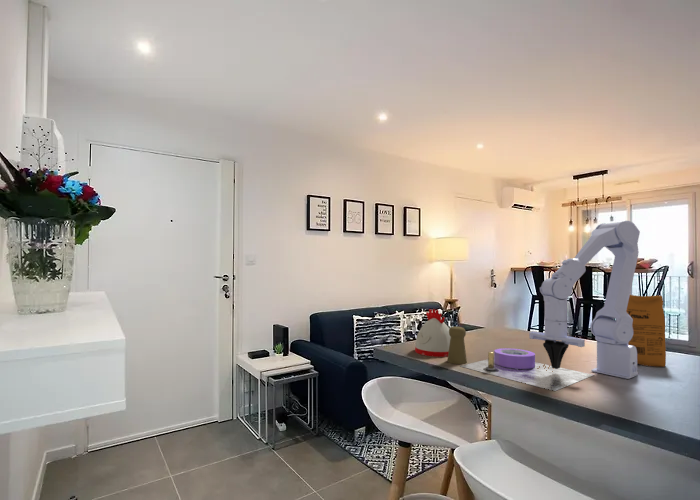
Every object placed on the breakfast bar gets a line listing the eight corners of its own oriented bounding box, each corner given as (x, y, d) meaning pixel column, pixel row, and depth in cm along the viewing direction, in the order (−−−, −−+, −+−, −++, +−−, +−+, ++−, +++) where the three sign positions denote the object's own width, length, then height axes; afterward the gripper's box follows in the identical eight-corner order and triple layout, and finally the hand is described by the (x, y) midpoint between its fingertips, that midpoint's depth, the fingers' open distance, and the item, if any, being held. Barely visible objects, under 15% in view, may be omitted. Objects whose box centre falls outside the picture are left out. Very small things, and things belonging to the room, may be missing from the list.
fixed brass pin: (498, 370, 115) (498, 352, 115) (492, 371, 113) (492, 354, 113) (489, 367, 117) (489, 351, 117) (484, 369, 115) (484, 352, 115)
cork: (451, 358, 129) (451, 324, 129) (469, 361, 125) (469, 326, 125) (444, 362, 124) (444, 327, 124) (463, 365, 120) (463, 329, 120)
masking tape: (486, 360, 126) (486, 348, 126) (517, 358, 129) (517, 347, 129) (510, 370, 115) (510, 357, 115) (543, 368, 118) (543, 355, 118)
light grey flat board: (594, 375, 111) (594, 374, 111) (554, 391, 97) (554, 390, 97) (503, 355, 134) (503, 355, 134) (459, 366, 119) (459, 365, 119)
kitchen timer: (434, 346, 147) (434, 306, 148) (464, 353, 136) (464, 310, 136) (407, 350, 139) (407, 308, 140) (435, 358, 128) (436, 312, 129)
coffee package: (615, 357, 134) (615, 292, 135) (661, 362, 128) (660, 294, 129) (619, 363, 125) (619, 294, 126) (668, 369, 120) (668, 296, 120)
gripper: (524, 318, 116) (524, 364, 115) (576, 324, 104) (577, 376, 104) (536, 316, 120) (536, 361, 120) (587, 322, 109) (588, 371, 108)
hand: (555, 367), depth 112 cm, fingers closed
